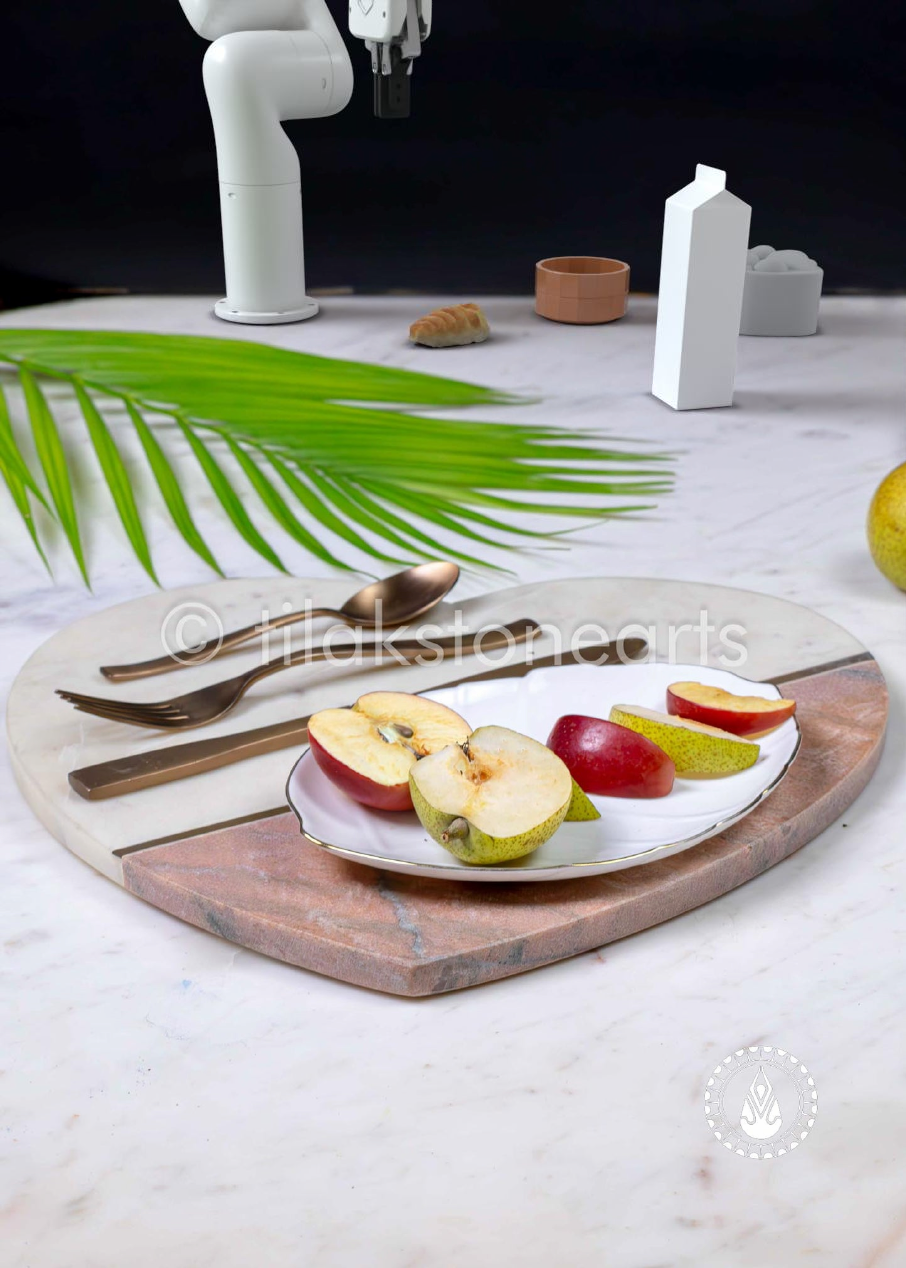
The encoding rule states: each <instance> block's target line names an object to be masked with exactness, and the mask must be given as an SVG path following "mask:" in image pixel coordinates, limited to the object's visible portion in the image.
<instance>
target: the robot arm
mask: <svg viewBox="0 0 906 1268" xmlns="http://www.w3.org/2000/svg"><path fill="white" fill-rule="evenodd" d="M178 2H179V4H180V6H181V8H182V11H183V13H184V14H185V16H186V19H187V20H188V22H189V24H190V26H191V27H192V28H193V30H194V31H195V32H196V34H197V35H198V36H200V37H201V38H203V39H206V40H208V41H212V43H211V44H210V45H209V46H208V48H207V50H206V52H205V54H204V58H203V62H202V78H203V79H202V80H203V86H204V90H205V91H204V92H205V95H206V98H207V102H208V107H209V111H210V116H211V119H212V125H213V133H214V139H215V146H216V158H217V169H218V170H217V171H218V172H217V173H218V184H219V198H220V213H221V214H220V215H221V227H222V228H221V229H222V230H221V231H222V242H223V243H222V244H223V245H222V246H223V260H224V273H225V288H226V297H224V298H221V299H219V300H217V302H215V304H214V313H215V315H216V316H217V317H218V318H219V319H222V320H225V321H228V322H233V323H242V324H252V325H253V324H254V325H255V324H257V325H259V324H260V325H269V324H271V325H272V324H285V323H286V324H287V323H292V322H298V321H302V320H303V321H304V320H306V319H309V318H312V317H314V316H316V315H317V314H318V312H319V302H318V301H317V299H315V298H313V297H311V296H309V295H308V296H307V295H306V281H305V280H306V279H305V259H304V258H305V256H304V254H305V253H304V231H303V206H302V203H303V202H302V187H301V186H302V183H301V167H300V159H299V156H298V154H297V150H296V149H295V146H294V145H293V143H292V142H291V140H290V138H289V137H288V135H287V134H286V132H285V131H284V129H283V127H282V125H281V123H280V122H283V121H287V120H300V119H301V120H302V119H303V120H304V119H313V118H315V119H316V118H324V117H330V116H332V115H335V114H337V113H339V112H341V111H342V110H343V109H344V108H345V107H346V106H347V105H348V104H349V102H350V100H351V97H352V94H353V89H354V71H353V66H352V62H351V59H350V55H349V52H348V50H347V47H346V45H345V42H344V40H343V37H342V36H341V33H340V31H339V29H338V27H337V25H336V22H335V20H334V17H333V16H332V14H331V12H330V10H329V8H328V6H327V3H326V2H325V0H178ZM432 2H433V1H432V0H348V29H349V31H350V33H351V34H352V35H353V36H354V37H355V38H358V39H362V40H364V46H365V48H366V49H367V50H368V51H370V53H371V65H372V66H371V67H372V68H371V69H372V72H373V112H374V113H373V114H374V116H375V117H377V118H381V119H401V118H402V119H404V118H408V117H409V116H410V114H411V113H410V112H411V75H412V73H413V59H415V58H417V57H420V56H421V53H422V47H421V42H424V41H425V40H426V39H428V37H429V36H430V34H431V25H432V8H433V7H432V5H433V3H432Z"/></svg>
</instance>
